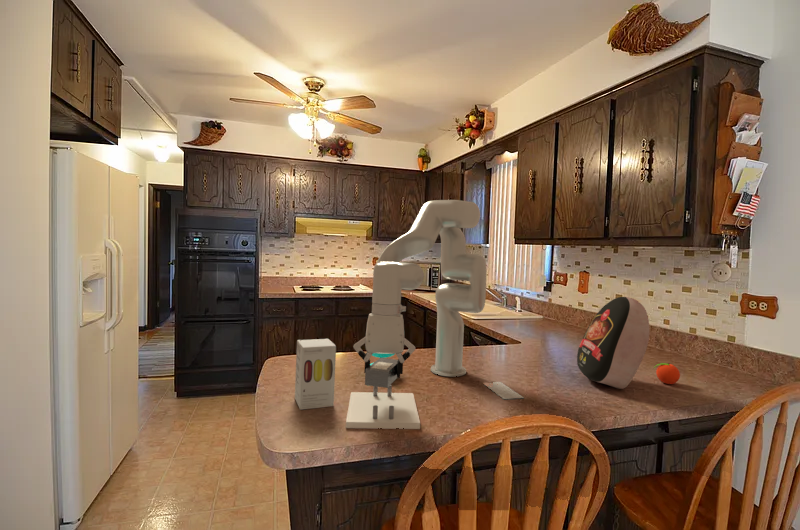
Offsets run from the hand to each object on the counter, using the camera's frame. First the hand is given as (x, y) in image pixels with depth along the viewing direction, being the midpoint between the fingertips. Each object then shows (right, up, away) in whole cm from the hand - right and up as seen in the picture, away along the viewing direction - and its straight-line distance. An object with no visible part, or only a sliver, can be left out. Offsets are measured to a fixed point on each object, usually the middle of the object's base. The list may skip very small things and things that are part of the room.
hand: (383, 375), depth 109 cm
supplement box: (-20, -9, +6) cm, 22 cm away
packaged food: (+76, -11, +32) cm, 83 cm away
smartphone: (+37, -11, +21) cm, 44 cm away
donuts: (-2, -8, +33) cm, 34 cm away
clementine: (+97, -12, +34) cm, 104 cm away
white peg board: (0, -10, +1) cm, 10 cm away
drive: (0, -1, 0) cm, 1 cm away
